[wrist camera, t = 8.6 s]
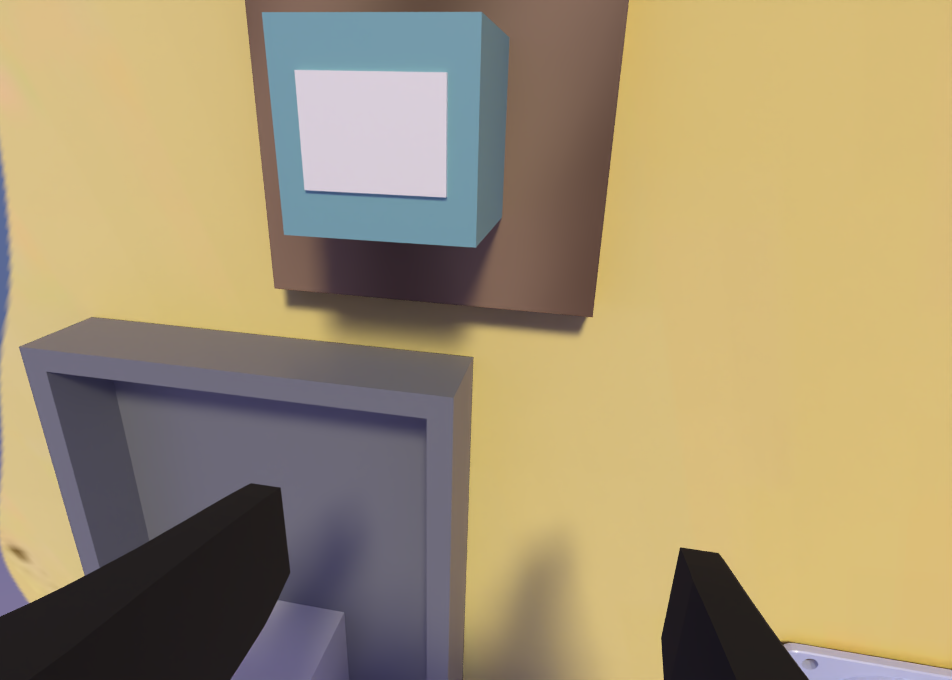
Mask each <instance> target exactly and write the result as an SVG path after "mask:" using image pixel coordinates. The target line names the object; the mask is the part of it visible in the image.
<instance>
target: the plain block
mask: <svg viewBox="0 0 952 680" xmlns="http://www.w3.org/2000/svg"><path fill="white" fill-rule="evenodd" d="M231 680H349V672H348V658H347V644H346V630H345V616H344V612H340V611H334V610H329V609H323V608H318V607H312V606H307V605H302V604H296V603H291V602H285V601H280V600H278V601H277V603H276V605H275V607H274V609H273V611H272V613H271V615H270V617H269V618H268V620H267V622H266V624H265V626H264V628H263V629H262V631H261V633H260V634H259V636H258V637H257V639H256V641H255V642H254V644H253V645H252V647H251V648H250V650H249V652H248V653H247V655H246V656H245V658H244V659H243V661H242V663H241V664H240V666H239V667H238V669H237V670H236V672H235V674H234V675H233V677H232V678H231Z"/></svg>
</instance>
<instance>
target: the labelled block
mask: <svg viewBox="0 0 952 680" xmlns="http://www.w3.org/2000/svg"><path fill="white" fill-rule="evenodd" d="M262 19H263V29H264V39H265V49H266V59H267V69H268V79H269V89H270V99H271V109H272V119H273V129H274V139H275V149H276V159H277V169H278V179H279V189H280V199H281V209H282V219H283V229H284V235H293V236H308V237H323V238H338V239H353V240H368V241H383V242H398V243H413V244H428V245H443V246H459V247H474V248H476V247H477V246H478V245H479V243H480V242H481V241H482V240H483V239H484V238H485V237H486V235H487V234H488V233H489V232H490V231H491V230H492V228H493V227H494V226H495V225H496V224H497V223H498V221H499V220H500V219H501V218H502V208H503V184H504V159H505V135H506V111H507V87H508V63H509V39H510V38H509V37H508V36H507V35H506V34H505V33H504V32H503V31H502V30H501V29H500V28H499V27H498V26H497V25H495V24H494V23H493V22H492V21H491V20H490V19H489V18H488V17H487V16H486V15H485V14H484V13H482V12H262Z"/></svg>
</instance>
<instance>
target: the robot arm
mask: <svg viewBox="0 0 952 680" xmlns="http://www.w3.org/2000/svg"><path fill="white" fill-rule="evenodd" d="M289 575H290V564H289V555H288V547H287V538H286V529H285V520H284V512H283V503H282V494H281V488H280V487H274V486H267V485H260V484H254V483H250V484H248V485H246V486H244V487H243V488H241V489H239V490H237V491H235V492H233V493H231V494H230V495H228V496H226V497H224V498H223V499H221V500H219V501H217V502H216V503H214V504H212V505H210V506H209V507H207V508H205V509H204V510H202V511H200V512H198V513H197V514H195V515H193V516H192V517H190V518H188V519H186V520H185V521H183V522H181V523H180V524H178V525H176V526H174V527H173V528H171V529H169V530H167V531H166V532H164V533H162V534H160V535H159V536H157V537H155V538H154V539H152V540H150V541H148V542H147V543H145V544H143V545H141V546H140V547H138V548H136V549H134V550H132V551H130V552H129V553H127V554H125V555H123V556H121V557H119V558H117V559H116V560H114V561H112V562H110V563H108V564H106V565H104V566H102V567H101V568H99V569H97V570H95V571H93V572H91V573H89V574H87V575H86V576H84V577H82V578H80V579H78V580H76V581H74V582H72V583H70V584H68V585H66V586H64V587H62V588H60V589H58V590H56V591H54V592H52V593H50V594H48V595H46V596H44V597H42V598H40V599H38V600H36V601H34V602H32V603H29V604H27V605H25V606H23V607H21V608H18V609H16V610H14V611H12V612H10V613H7V614H5V615H3V616H1V617H0V680H231V678H232V677H233V675H234V674H235V672H236V670H237V669H238V667H239V666H240V664H241V663H242V661H243V659H244V658H245V656H246V655H247V653H248V652H249V650H250V648H251V647H252V645H253V644H254V642H255V641H256V639H257V637H258V636H259V634H260V633H261V631H262V629H263V628H264V626H265V624H266V622H267V620H268V618H269V617H270V615H271V613H272V611H273V609H274V607H275V605H276V603H277V601H278V598H279V596H280V594H281V592H282V590H283V588H284V586H285V583H286V581H287V579H288V577H289ZM661 640H662V656H663V673H664V680H952V670H950V669H944V668H938V667H932V666H926V665H921V664H915V663H909V662H903V661H897V660H891V659H885V658H879V657H874V656H868V655H862V654H856V653H850V652H844V651H838V650H833V649H827V648H821V647H815V646H809V645H803V644H797V643H787V644H784V645H783V644H782V643H781V642H780V640H779V639H778V637H777V636H776V635H775V633H774V632H773V630H772V629H771V628H770V626H769V625H768V623H767V622H766V621H765V619H764V618H763V616H762V615H761V613H760V612H759V611H758V609H757V608H756V606H755V605H754V603H753V602H752V601H751V599H750V598H749V596H748V595H747V593H746V592H745V590H744V589H743V587H742V586H741V584H740V583H739V582H738V580H737V579H736V577H735V576H734V574H733V573H732V571H731V570H730V568H729V567H728V565H727V564H726V562H725V561H724V559H723V558H722V557H721V556H720V554H719V553H714V552H707V551H700V550H694V549H687V548H680V551H679V555H678V560H677V565H676V570H675V575H674V579H673V584H672V589H671V594H670V599H669V603H668V608H667V613H666V618H665V623H664V627H663V632H662V637H661ZM806 659H810V660H806Z"/></svg>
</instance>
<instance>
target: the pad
mask: <svg viewBox="0 0 952 680" xmlns="http://www.w3.org/2000/svg"><path fill="white" fill-rule="evenodd" d="M628 3H629V0H245V5H246V15H247V25H248V35H249V44H250V54H251V64H252V73H253V83H254V93H255V103H256V112H257V122H258V132H259V141H260V151H261V161H262V171H263V180H264V190H265V200H266V209H267V219H268V229H269V239H270V248H271V258H272V268H273V277H274V287H275V288H277V289H288V290H299V291H310V292H321V293H332V294H343V295H354V296H365V297H376V298H387V299H398V300H409V301H420V302H431V303H442V304H453V305H464V306H476V307H487V308H498V309H509V310H520V311H531V312H542V313H553V314H564V315H575V316H586V317H593V308H594V299H595V291H596V282H597V273H598V264H599V256H600V247H601V238H602V230H603V221H604V212H605V203H606V195H607V186H608V177H609V169H610V160H611V151H612V142H613V134H614V125H615V116H616V108H617V99H618V90H619V81H620V73H621V64H622V55H623V47H624V38H625V29H626V20H627V12H628ZM262 12H482V13H484V14H485V15H486V16H487V17H488V18H489V19H490V20H491V21H492V22H493V23H494V24H495V25H497V26H498V27H499V28H500V29H501V30H502V31H503V32H504V33H505V34H506V35H507V36H508V37H509V38H510V39H509V63H508V87H507V111H506V135H505V159H504V184H503V208H502V218H501V219H500V220H499V221H498V223H497V224H496V225H495V226H494V227H493V228H492V230H491V231H490V232H489V233H488V234H487V235H486V237H485V238H484V239H483V240H482V241H481V242H480V243H479V245H478V246H477V247H476V248H474V247H459V246H443V245H428V244H413V243H398V242H383V241H368V240H353V239H338V238H323V237H308V236H293V235H284V229H283V219H282V209H281V199H280V189H279V179H278V169H277V159H276V149H275V139H274V129H273V119H272V109H271V99H270V89H269V79H268V69H267V59H266V49H265V39H264V29H263V19H262Z"/></svg>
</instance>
